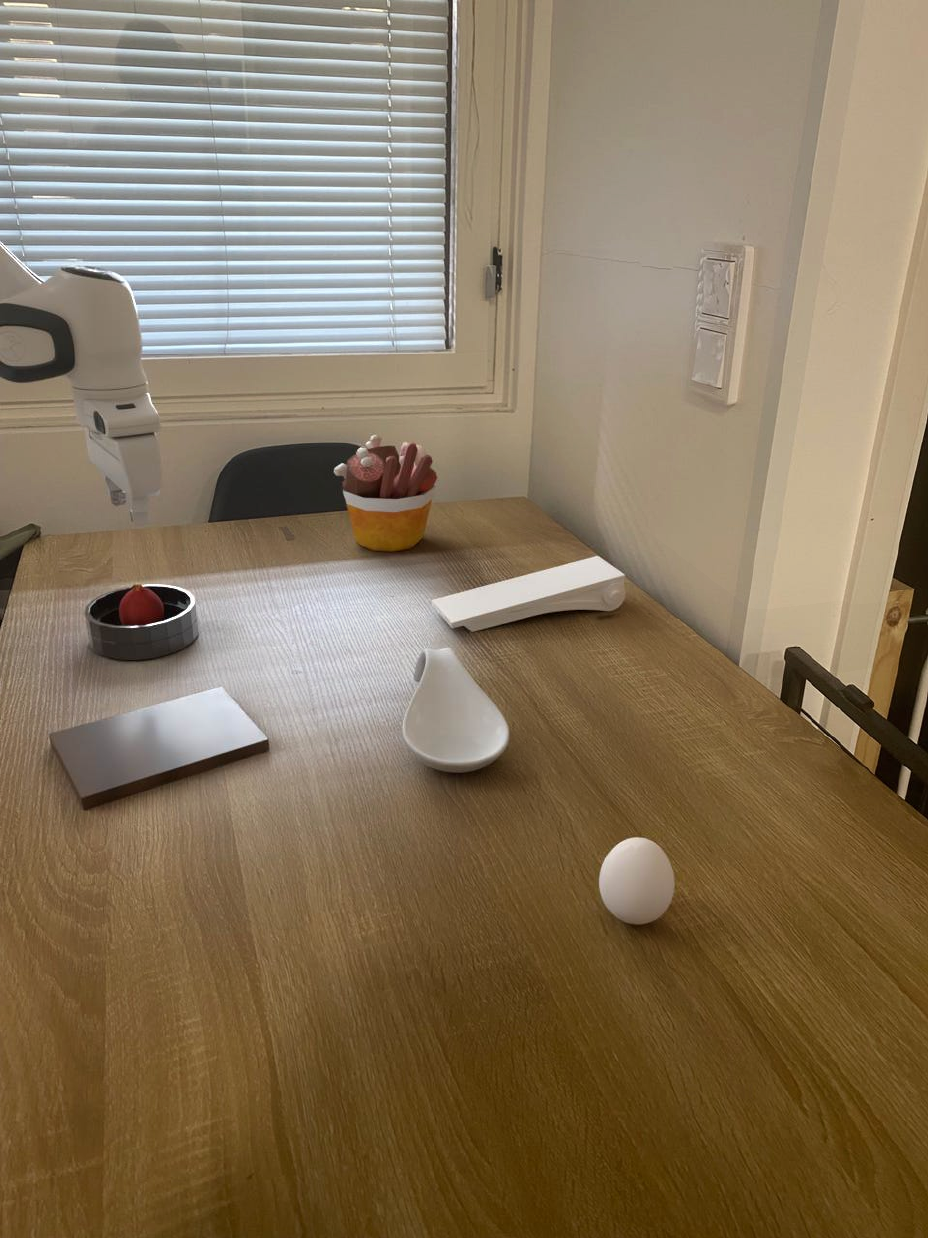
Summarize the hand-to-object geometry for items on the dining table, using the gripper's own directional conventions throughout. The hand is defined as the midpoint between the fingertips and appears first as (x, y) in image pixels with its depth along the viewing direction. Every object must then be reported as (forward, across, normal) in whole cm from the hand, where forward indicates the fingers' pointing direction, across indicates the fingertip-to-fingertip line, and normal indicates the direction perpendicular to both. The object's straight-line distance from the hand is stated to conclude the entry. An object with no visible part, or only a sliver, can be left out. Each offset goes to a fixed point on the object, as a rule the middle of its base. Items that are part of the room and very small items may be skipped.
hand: (129, 513), depth 118 cm
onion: (+18, 0, 0) cm, 18 cm away
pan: (+18, 0, 0) cm, 18 cm away
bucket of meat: (+18, -15, +48) cm, 53 cm away
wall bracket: (+19, +21, +51) cm, 58 cm away
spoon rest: (+19, +42, +22) cm, 51 cm away
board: (+18, +28, -7) cm, 34 cm away
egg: (+19, +76, +19) cm, 80 cm away
